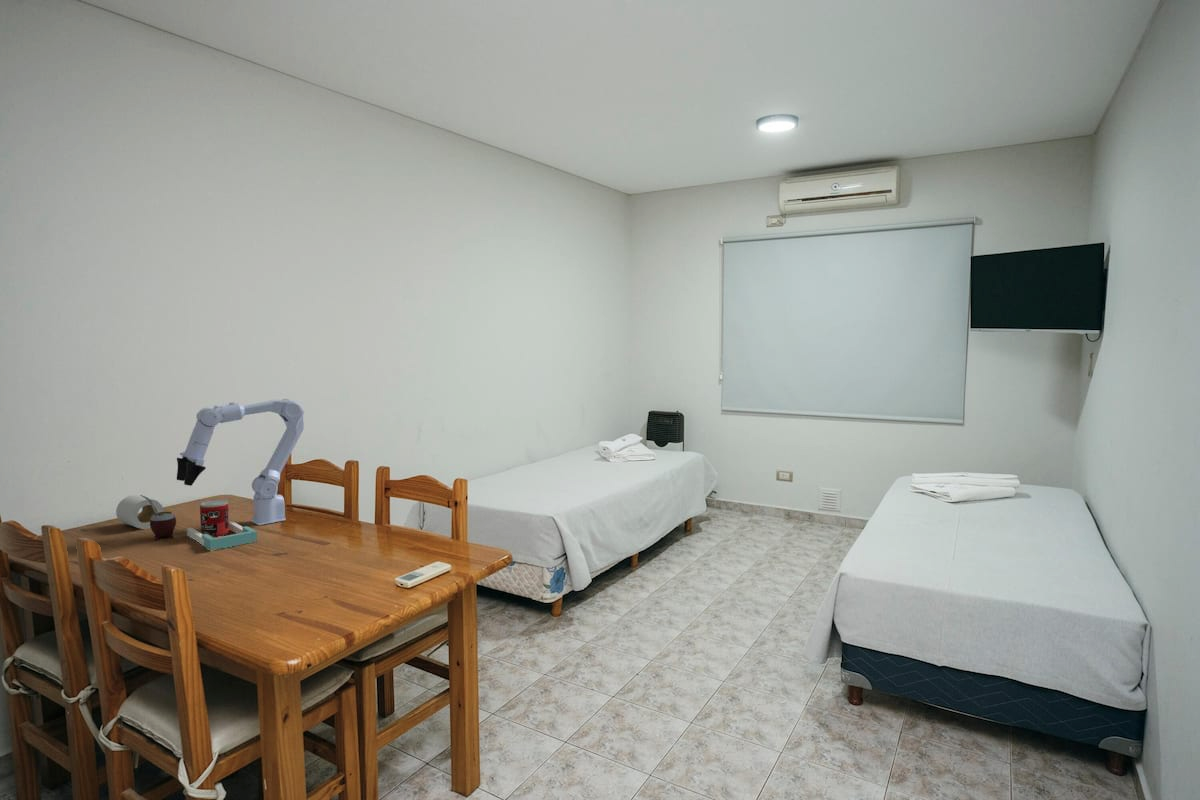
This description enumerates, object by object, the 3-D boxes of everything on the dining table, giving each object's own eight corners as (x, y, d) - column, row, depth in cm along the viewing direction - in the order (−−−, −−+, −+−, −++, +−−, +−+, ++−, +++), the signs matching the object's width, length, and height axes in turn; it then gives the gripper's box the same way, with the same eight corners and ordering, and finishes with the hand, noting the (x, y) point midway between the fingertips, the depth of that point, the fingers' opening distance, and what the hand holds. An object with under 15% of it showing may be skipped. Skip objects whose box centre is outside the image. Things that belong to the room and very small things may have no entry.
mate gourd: (181, 535, 218) (179, 490, 217) (163, 542, 210) (161, 496, 209) (160, 534, 219) (158, 489, 217) (141, 541, 211) (139, 494, 210)
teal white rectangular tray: (231, 527, 227) (231, 517, 227) (257, 541, 213) (256, 531, 213) (186, 536, 217) (186, 525, 217) (210, 551, 203) (210, 540, 203)
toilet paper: (163, 525, 229) (162, 496, 228) (131, 532, 220) (130, 502, 219) (149, 520, 234) (147, 492, 233) (116, 527, 225) (115, 498, 224)
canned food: (195, 536, 217) (194, 503, 216) (217, 530, 224) (216, 498, 223) (212, 540, 214) (211, 506, 213) (234, 533, 221) (233, 501, 220)
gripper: (178, 436, 222) (163, 475, 220) (193, 443, 212) (177, 485, 210) (200, 441, 227) (186, 479, 225) (216, 448, 217) (201, 489, 216)
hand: (183, 482), depth 218 cm, fingers open, 7 cm apart
